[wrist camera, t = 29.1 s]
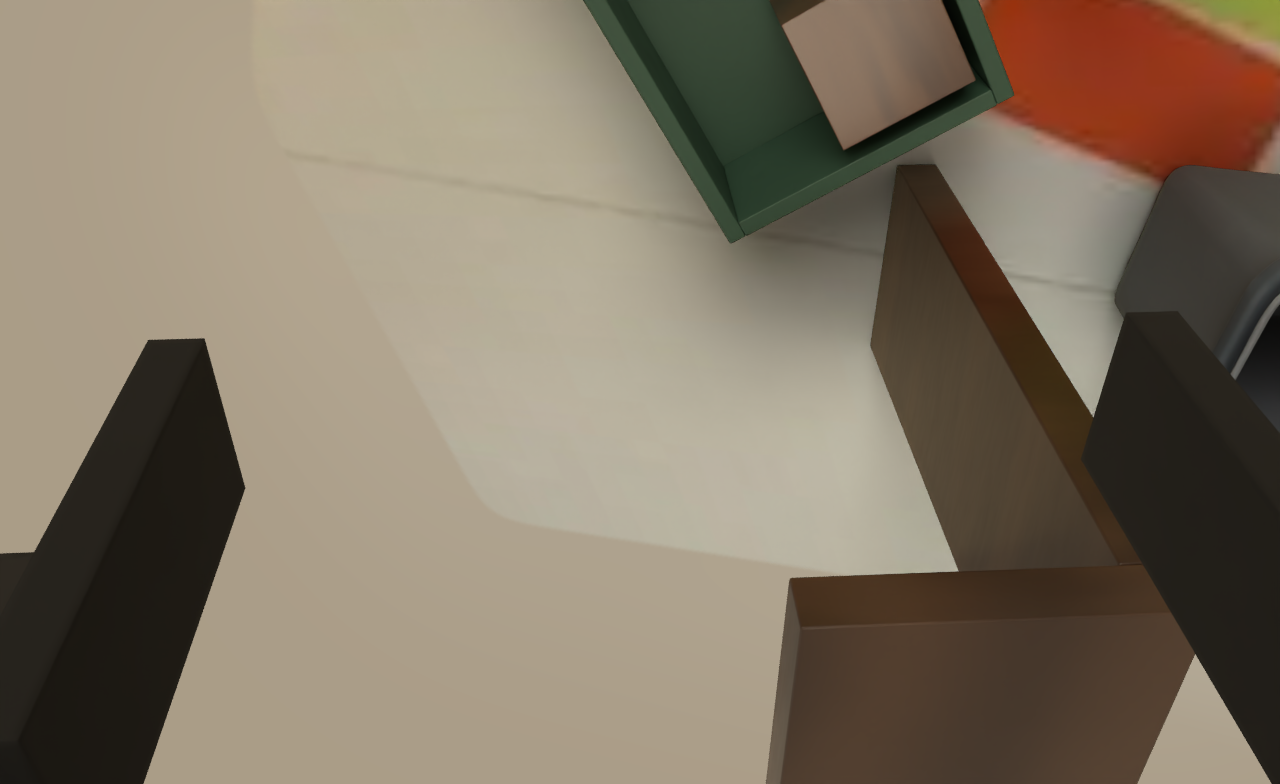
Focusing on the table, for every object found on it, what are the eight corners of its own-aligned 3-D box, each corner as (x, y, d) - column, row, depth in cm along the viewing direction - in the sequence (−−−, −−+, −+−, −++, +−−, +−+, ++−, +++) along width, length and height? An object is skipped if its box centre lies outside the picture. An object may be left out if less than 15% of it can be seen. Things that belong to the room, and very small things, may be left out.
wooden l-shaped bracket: (691, 365, 63) (770, 863, 39) (698, 169, 56) (800, 628, 31) (902, 359, 63) (1110, 846, 39) (936, 163, 56) (1215, 611, 32)
